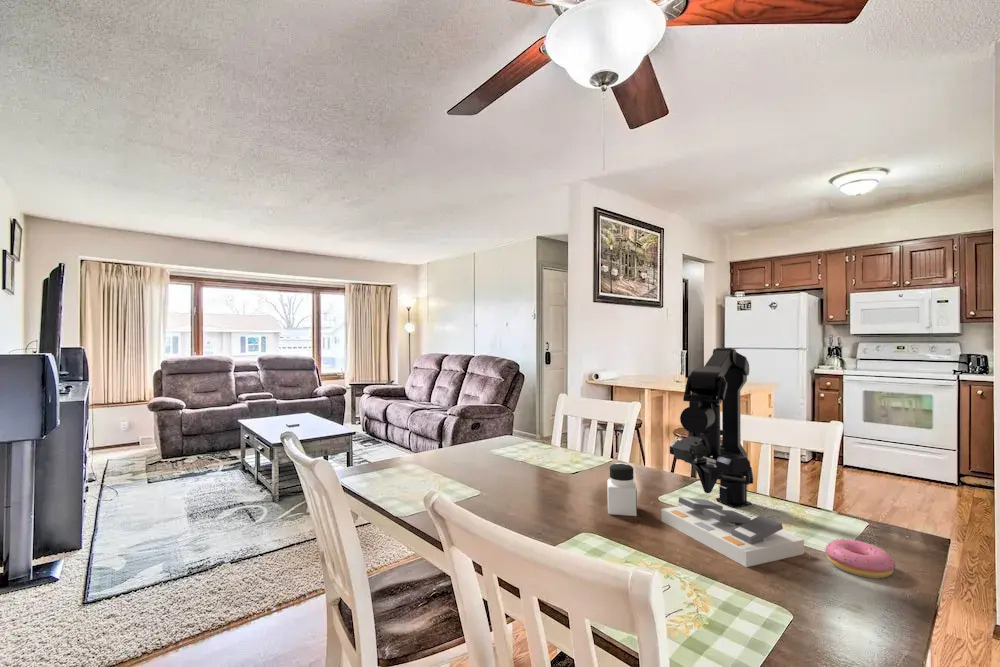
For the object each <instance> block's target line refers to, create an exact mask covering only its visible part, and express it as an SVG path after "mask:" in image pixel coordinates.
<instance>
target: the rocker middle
mask: <svg viewBox="0 0 1000 667" xmlns="http://www.w3.org/2000/svg"><path fill="white" fill-rule="evenodd" d="M735 511H736V510H735ZM735 511H729V510H717V509H705V508H703V514H705V515H707V516H709V517H711V518H713V519H715V520H718V521H720V522H733V523H746V522H748V521H750V520H751V518H752V517H751V518H749V517H750V516H749V517H746V516H744V515H745V514H744V515H742V514H743V513H742V514H739V513H740V512H739V513H737V512H738V511H737V512H735Z"/></svg>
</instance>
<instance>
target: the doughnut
mask: <svg viewBox="0 0 1000 667" xmlns="http://www.w3.org/2000/svg"><path fill="white" fill-rule="evenodd" d="M825 554H826V559H828V560H829V562H830V563H831V564H832V565H833V566H834V567H836V568H838V569H839V570H841V571H844V572H846V573H848V574H852V575H855V576H858V577H862V578H868V579H883V578H887V577H889V576H891V575H892V574H893V573H894V570H895V567H896V561H895V560H894V559H893V558H892V556H891V555H890V554H889V553H888V551H885V550H884V549H882V548H880V547H878V546H877V545H873V544H871V543H868V542H864V541H860V540H854V539H844V538H842V539H841V538H840V539H838V538H837V539H836V540H832V541H830V542H829V543H827V545H825Z"/></svg>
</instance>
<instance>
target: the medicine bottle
mask: <svg viewBox="0 0 1000 667" xmlns="http://www.w3.org/2000/svg"><path fill="white" fill-rule="evenodd" d="M634 479H635V478H634V467H633V466H632V465H630V464H628V463H622V462H621V463H620V462H617V463H613V464H610V465H609V478H608V479H607V480H606V481H607V482H606V483H607V484H606V488H607V493H606V494H607V514H608V515H611V516H613V515H615V516H627V517H629V516H630V517H637V516H638V496H637V495H638V493H637V492H638V489H637V486H636V482H635V480H634Z"/></svg>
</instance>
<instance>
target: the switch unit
mask: <svg viewBox="0 0 1000 667" xmlns="http://www.w3.org/2000/svg"><path fill="white" fill-rule="evenodd" d="M710 501H711V502H713V503H716V504H718V505H720V506H723V510H729V511H735V512H737V513H739V514H742V515H744V516H746V517H749V518H751V520H752V519H754V518H755V517H752V516H748V515H747V514H744V513H741V512H739V511H736V510H734V509H732V508H730V507H728V506H725V505H723V504H721V503H717V502H715V501H713V500H710ZM660 512H661V517H660V518H661V522H662V523H665V524H666V525H668V526H670V527H671V528H673V529H675V530H677V531H679V532H681V533H682V534H685V535H686V536H688V537H690V538H691V539H693V540H695V541H697V542H699V543H701V544H703V545H704V546H706V547H707V548H708V547H709V549H712V550H714V551H715V552H717V553H719V554H721V555H723V556H725V557H727V558H729V559H731V560H732V561H733V562H736V563H738V564H740V565H741V566H743V567H745V568H748V567H754V566H757V565H761V564H767V563H770V562H775V561H776V562H777V561H780V560H783V559H787V558H793V557H796V556H801V555H804V554H805V539H803V538H801V537H798V536H796V535H793V534H792V533H788V532H786V531H784V530H783V529H782V530H780V531H778V532H776V533H774V534H772V535H770V536H768V537H766V538H764V539H762V540H760V541H758V542H756V543H754V544H752V545H751V544H749V543H747V542H745V541H743V540H741V539H739V538H737V537H735V536H733V535H732V533H731V530H732V529H734V528H736V527H738V526H740V525H742V524H744V523H733V522H720V521H718V520H715V519H713V518H711V517H709V516H707V515H705V514H703V510H697V509H692V508H690V507H688V506H685V505H683V504H682V505H678V506H671V507H665V508H661V511H660Z"/></svg>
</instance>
